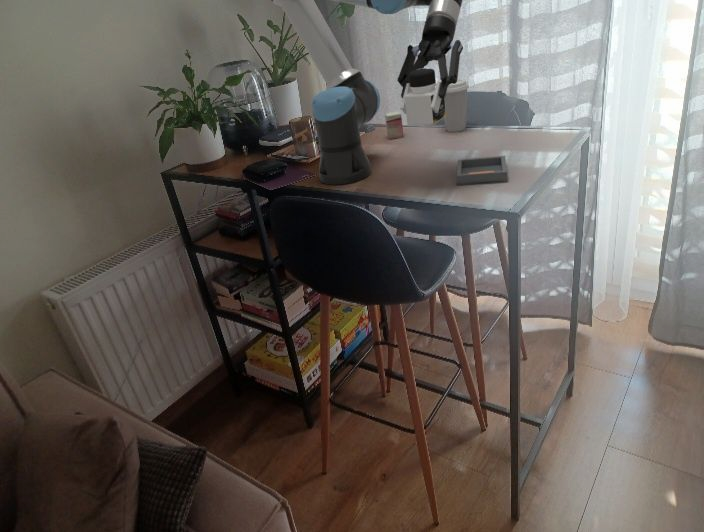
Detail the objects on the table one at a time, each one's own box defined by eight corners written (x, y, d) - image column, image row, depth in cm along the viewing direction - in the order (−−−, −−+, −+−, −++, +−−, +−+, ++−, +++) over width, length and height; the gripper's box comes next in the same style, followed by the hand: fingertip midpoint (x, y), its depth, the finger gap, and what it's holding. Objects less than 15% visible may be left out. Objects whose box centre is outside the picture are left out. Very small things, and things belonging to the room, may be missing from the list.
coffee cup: (444, 125, 178) (441, 80, 171) (472, 124, 175) (470, 77, 167) (438, 134, 171) (434, 87, 163) (467, 132, 167) (465, 84, 160)
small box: (389, 139, 174) (386, 116, 170) (387, 136, 178) (384, 113, 174) (404, 137, 174) (401, 113, 170) (401, 133, 178) (399, 110, 174)
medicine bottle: (434, 125, 122) (428, 72, 116) (407, 125, 126) (400, 74, 120) (446, 116, 127) (441, 64, 121) (419, 117, 130) (414, 67, 125)
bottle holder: (457, 185, 130) (456, 175, 129) (458, 168, 140) (458, 158, 139) (507, 181, 127) (507, 171, 126) (505, 164, 137) (504, 154, 136)
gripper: (485, 28, 123) (464, 117, 120) (410, 38, 134) (388, 119, 131) (476, 7, 117) (453, 100, 113) (397, 18, 128) (374, 103, 124)
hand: (419, 110), depth 122 cm, fingers closed on medicine bottle, 7 cm apart
